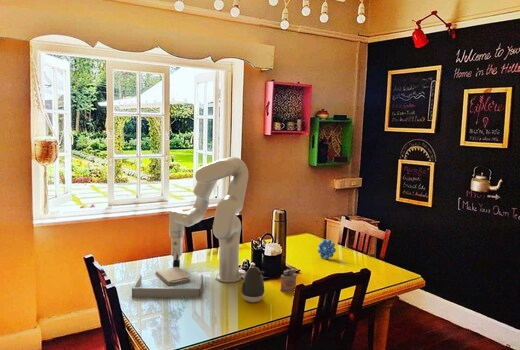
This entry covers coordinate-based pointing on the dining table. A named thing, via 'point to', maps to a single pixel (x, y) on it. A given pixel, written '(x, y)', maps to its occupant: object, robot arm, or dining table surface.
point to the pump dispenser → (253, 285)
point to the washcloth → (173, 276)
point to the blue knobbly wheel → (326, 249)
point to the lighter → (288, 281)
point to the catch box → (165, 291)
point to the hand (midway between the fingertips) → (176, 267)
